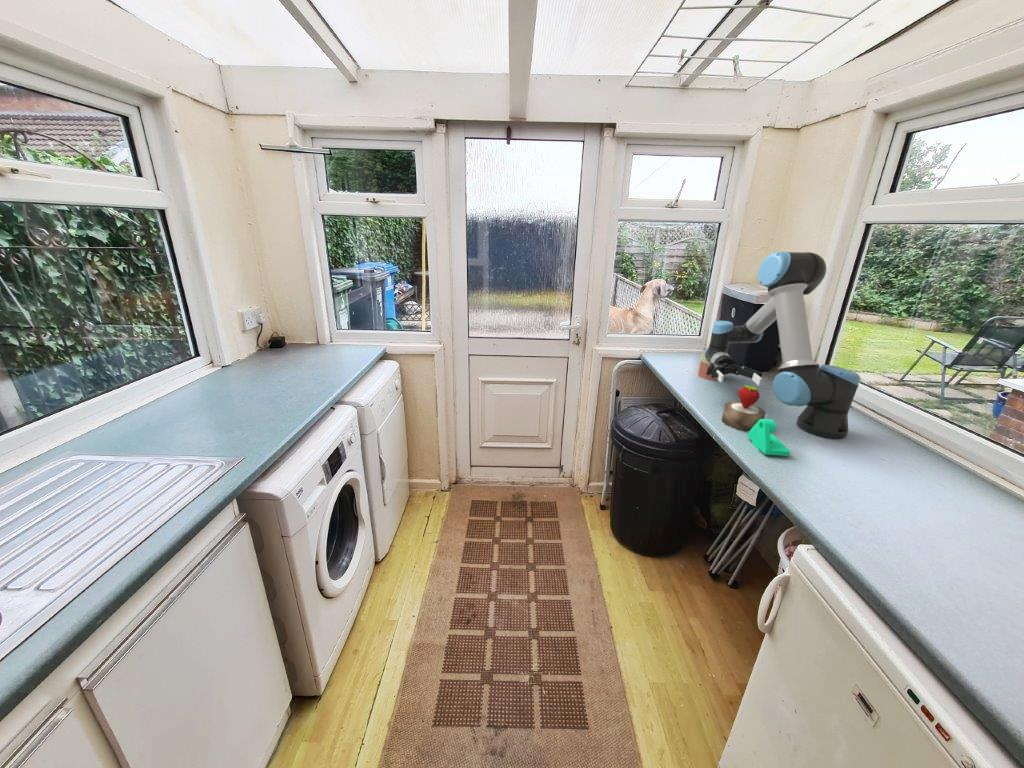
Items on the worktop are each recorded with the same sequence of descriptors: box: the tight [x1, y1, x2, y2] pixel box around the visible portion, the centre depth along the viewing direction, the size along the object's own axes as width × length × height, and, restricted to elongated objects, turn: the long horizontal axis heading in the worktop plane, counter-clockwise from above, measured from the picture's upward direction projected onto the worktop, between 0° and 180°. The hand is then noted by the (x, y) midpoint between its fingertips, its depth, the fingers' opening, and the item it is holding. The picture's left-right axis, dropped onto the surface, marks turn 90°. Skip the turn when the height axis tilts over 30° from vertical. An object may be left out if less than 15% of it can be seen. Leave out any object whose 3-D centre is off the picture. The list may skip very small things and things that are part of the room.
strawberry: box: [737, 382, 760, 408], centre depth 149 cm, size 6×8×10 cm
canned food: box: [697, 349, 728, 382], centre depth 198 cm, size 11×11×12 cm
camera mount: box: [747, 418, 791, 457], centre depth 134 cm, size 12×8×10 cm, turn 176°
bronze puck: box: [721, 400, 766, 432], centre depth 152 cm, size 13×13×6 cm
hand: (741, 380), depth 156 cm, fingers open, 13 cm apart
